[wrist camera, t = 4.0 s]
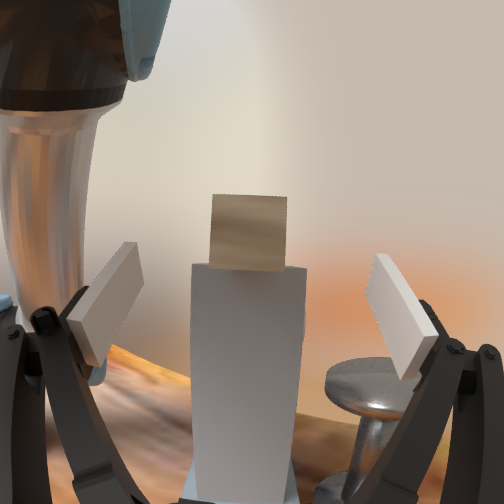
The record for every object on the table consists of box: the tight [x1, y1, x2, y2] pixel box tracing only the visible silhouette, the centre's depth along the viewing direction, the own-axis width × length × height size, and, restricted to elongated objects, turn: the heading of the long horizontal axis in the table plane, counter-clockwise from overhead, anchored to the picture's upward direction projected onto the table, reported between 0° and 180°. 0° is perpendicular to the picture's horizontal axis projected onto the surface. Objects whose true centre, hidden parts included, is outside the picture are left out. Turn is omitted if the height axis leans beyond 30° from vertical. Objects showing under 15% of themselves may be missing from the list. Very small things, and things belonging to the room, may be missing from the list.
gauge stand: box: [181, 263, 307, 504], centre depth 31 cm, size 13×14×30 cm
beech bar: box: [209, 194, 287, 272], centre depth 30 cm, size 28×4×4 cm, turn 0°
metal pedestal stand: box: [313, 357, 422, 504], centre depth 26 cm, size 14×14×19 cm
